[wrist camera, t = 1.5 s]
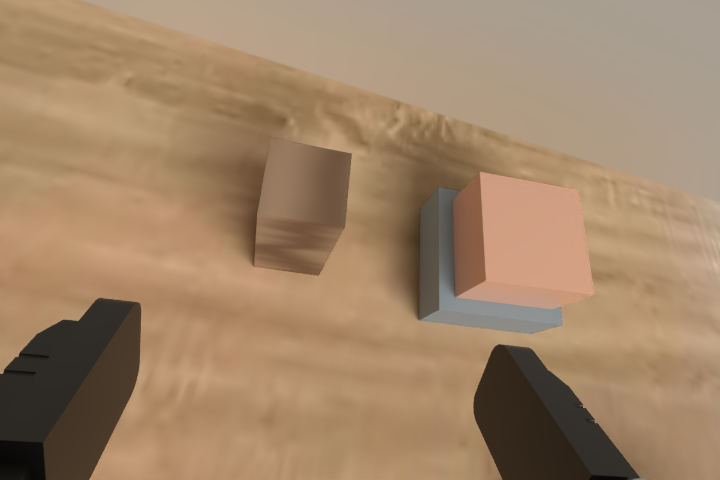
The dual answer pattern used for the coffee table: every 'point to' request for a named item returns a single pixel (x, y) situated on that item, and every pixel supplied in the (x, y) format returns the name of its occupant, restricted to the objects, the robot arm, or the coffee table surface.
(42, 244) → the coffee table surface
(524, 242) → the tower cap
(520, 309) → the tower base
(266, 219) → the pillar
